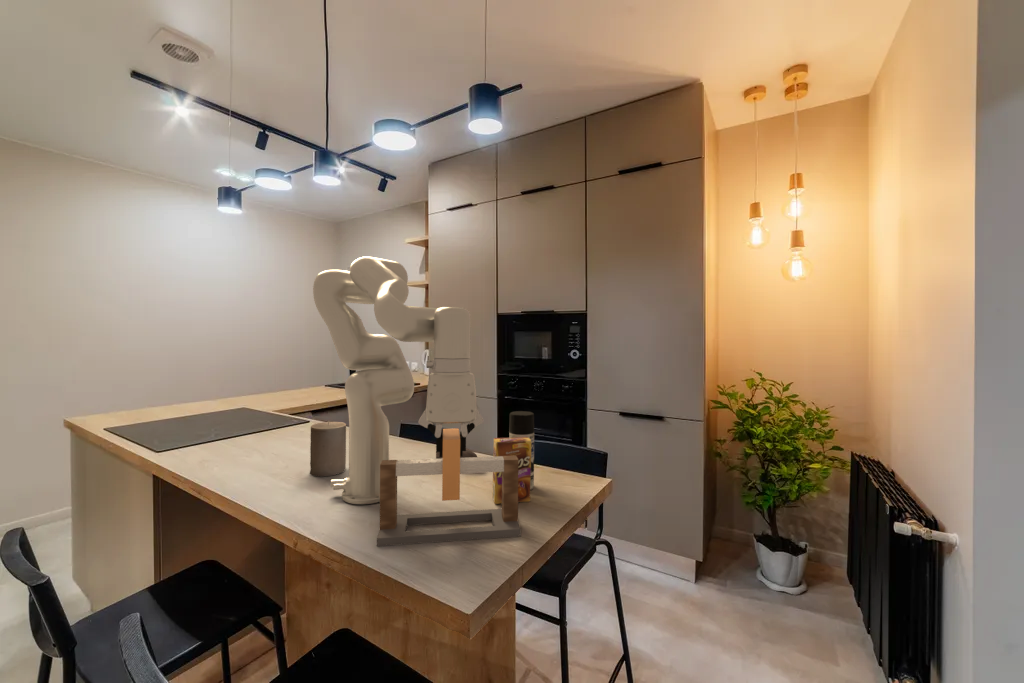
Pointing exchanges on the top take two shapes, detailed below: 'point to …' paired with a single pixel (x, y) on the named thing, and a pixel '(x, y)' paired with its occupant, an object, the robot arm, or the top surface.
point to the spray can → (523, 432)
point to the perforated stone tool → (466, 454)
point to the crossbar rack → (396, 524)
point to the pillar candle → (328, 448)
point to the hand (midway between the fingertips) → (451, 454)
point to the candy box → (523, 453)
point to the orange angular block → (451, 465)
